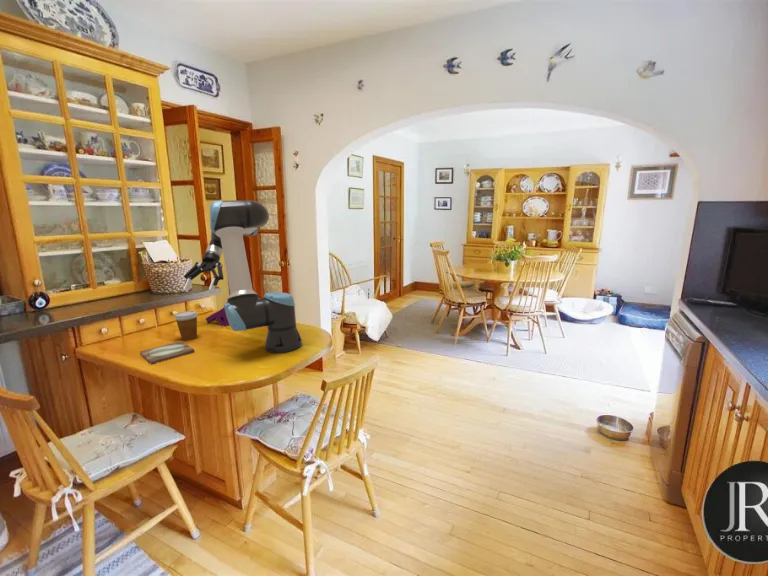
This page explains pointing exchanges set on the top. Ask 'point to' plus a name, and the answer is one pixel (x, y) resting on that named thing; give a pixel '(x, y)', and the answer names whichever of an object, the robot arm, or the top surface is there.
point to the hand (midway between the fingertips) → (198, 290)
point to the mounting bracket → (219, 317)
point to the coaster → (166, 352)
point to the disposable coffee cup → (187, 324)
